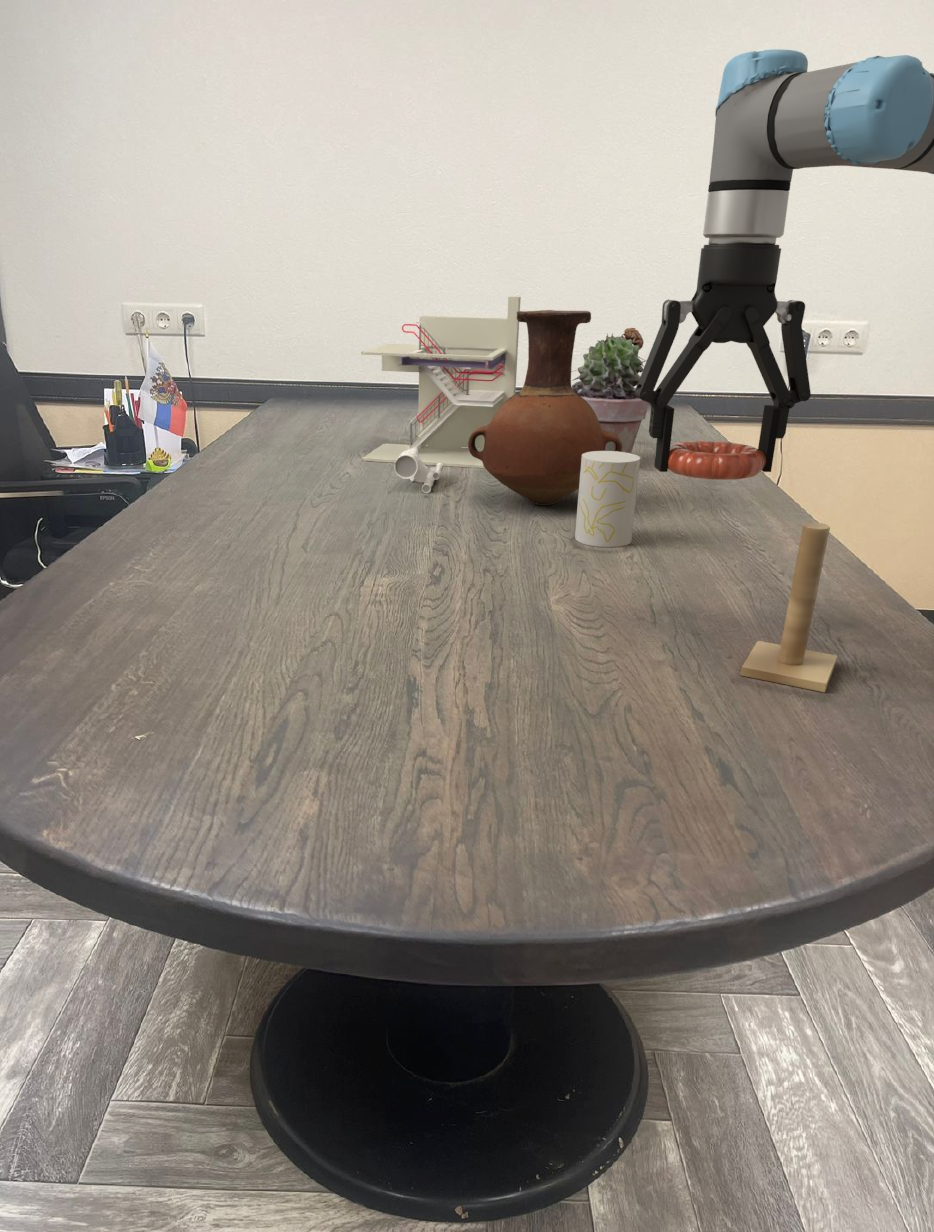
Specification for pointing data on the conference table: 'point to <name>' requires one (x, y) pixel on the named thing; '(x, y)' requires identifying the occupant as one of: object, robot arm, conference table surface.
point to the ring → (715, 460)
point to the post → (797, 625)
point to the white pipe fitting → (416, 469)
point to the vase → (543, 417)
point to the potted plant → (614, 386)
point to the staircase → (454, 383)
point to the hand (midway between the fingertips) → (711, 469)
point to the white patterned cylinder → (607, 498)
